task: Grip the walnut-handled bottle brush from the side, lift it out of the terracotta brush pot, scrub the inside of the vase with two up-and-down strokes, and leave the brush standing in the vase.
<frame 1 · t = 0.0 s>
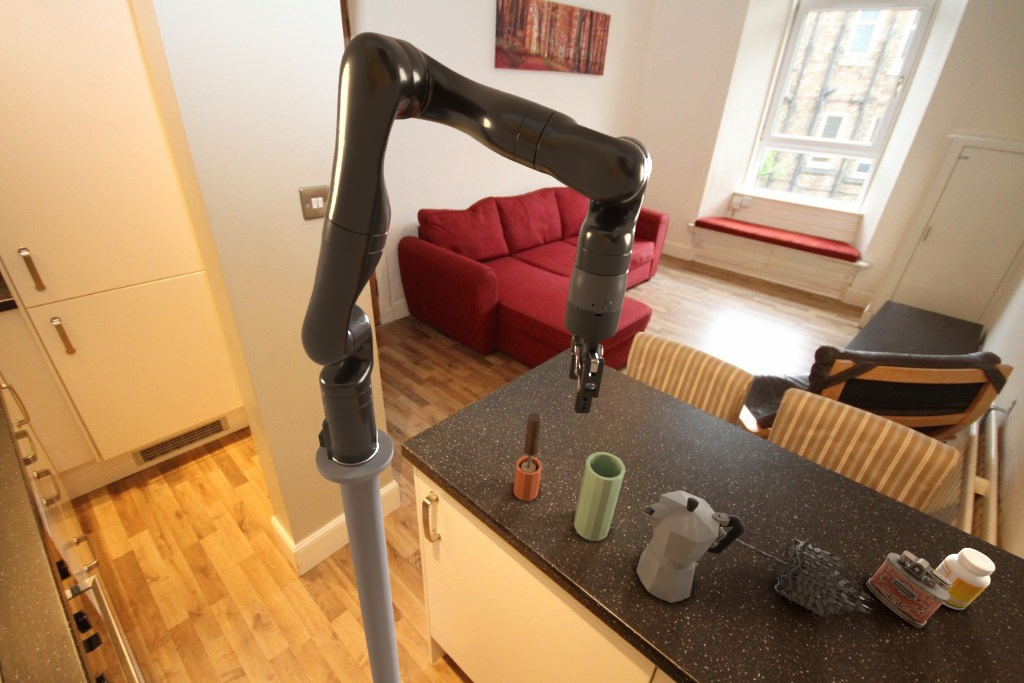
hand: (578, 394, 68), 28 cm above the breakfast bar, tool pointing down, fingers open, 8 cm apart
brush pot: (525, 491, 87), on the breakfast bar
massage brush: (777, 584, 74), on the breakfast bar
supplement bottle: (943, 595, 74), on the breakfast bar
coffeepot: (670, 577, 74), on the breakfast bar
bottle brush: (525, 489, 87), resting on brush pot
lighter: (893, 603, 72), on the breakfast bar
vase: (591, 525, 81), on the breakfast bar
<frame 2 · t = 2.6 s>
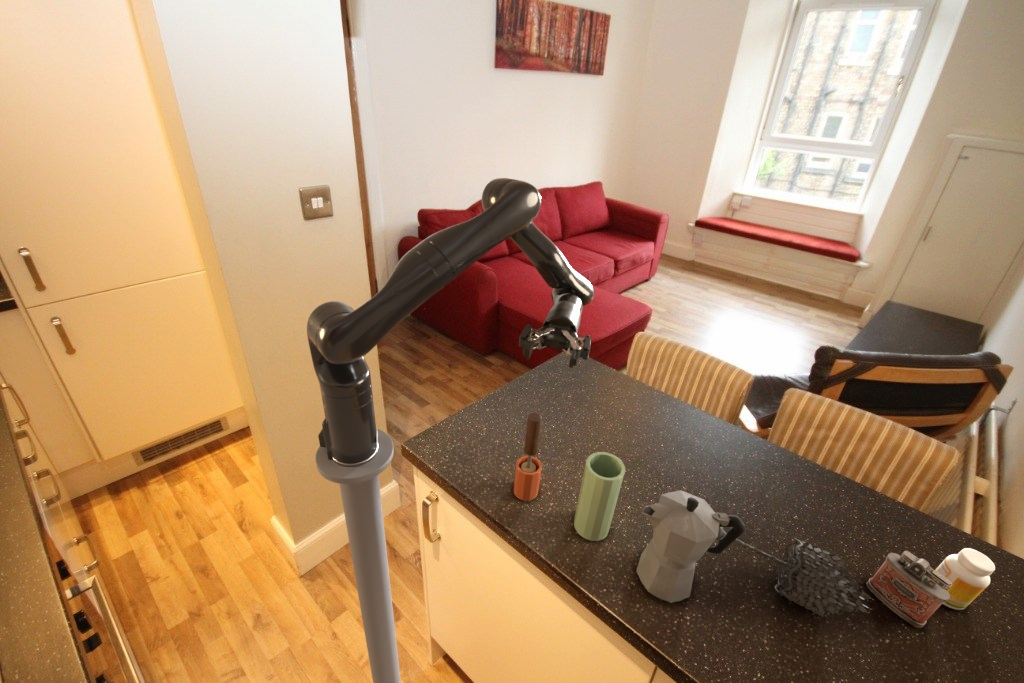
hand: (549, 359, 85), 24 cm above the breakfast bar, tool horizontal, fingers open, 8 cm apart
nothing on the breakfast bar moved.
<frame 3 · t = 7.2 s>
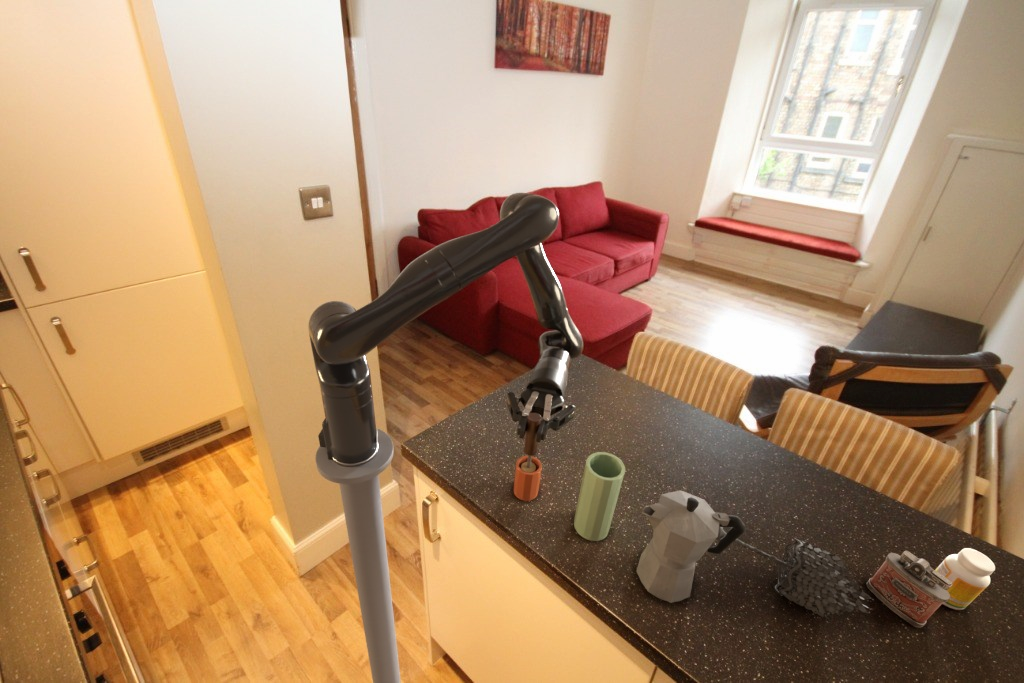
hand: (530, 436, 77), 16 cm above the breakfast bar, tool horizontal, fingers closed on bottle brush, 2 cm apart
bottle brush: (525, 489, 87), point 1 cm above the breakfast bar, touching brush pot, gripper
everything else where it was.
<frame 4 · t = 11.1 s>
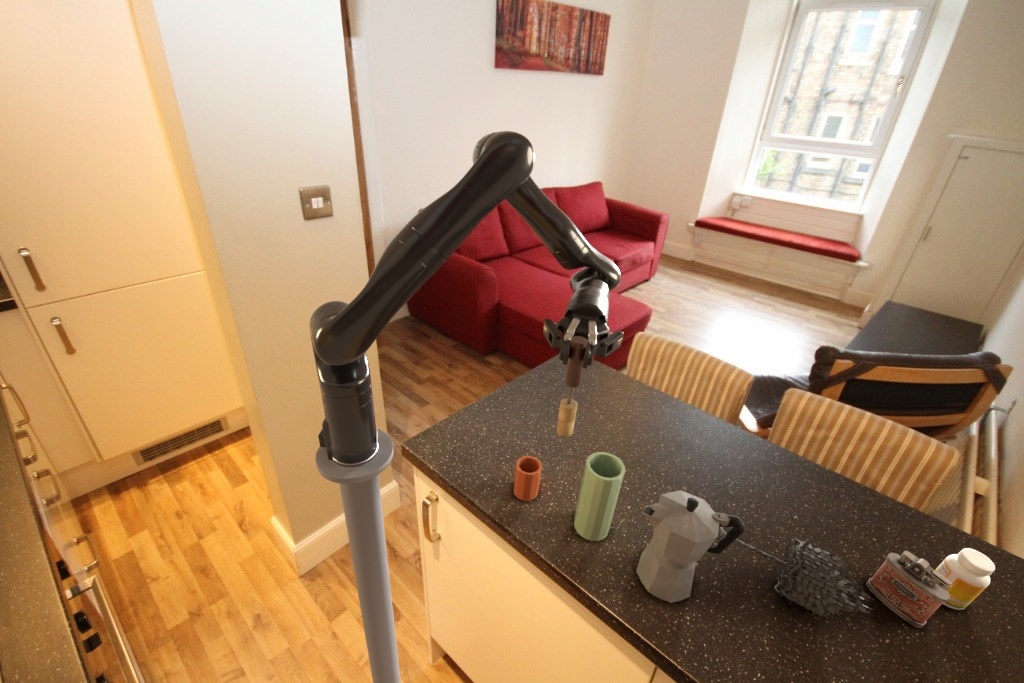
hand: (575, 360, 66), 34 cm above the breakfast bar, tool horizontal, fingers closed on bottle brush, 2 cm apart
bottle brush: (564, 431, 76), point 18 cm above the breakfast bar, touching gripper
everything else where it was.
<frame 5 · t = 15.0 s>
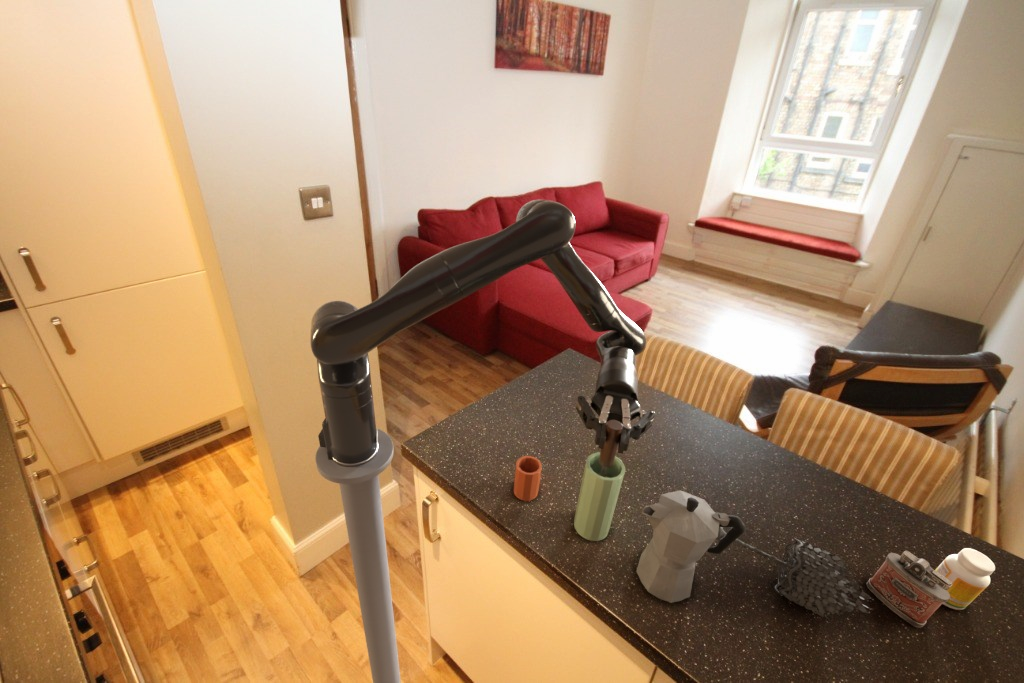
hand: (611, 446, 68), 22 cm above the breakfast bar, tool horizontal, fingers closed on bottle brush, 2 cm apart
bottle brush: (595, 503, 78), point 6 cm above the breakfast bar, touching gripper
everything else where it was.
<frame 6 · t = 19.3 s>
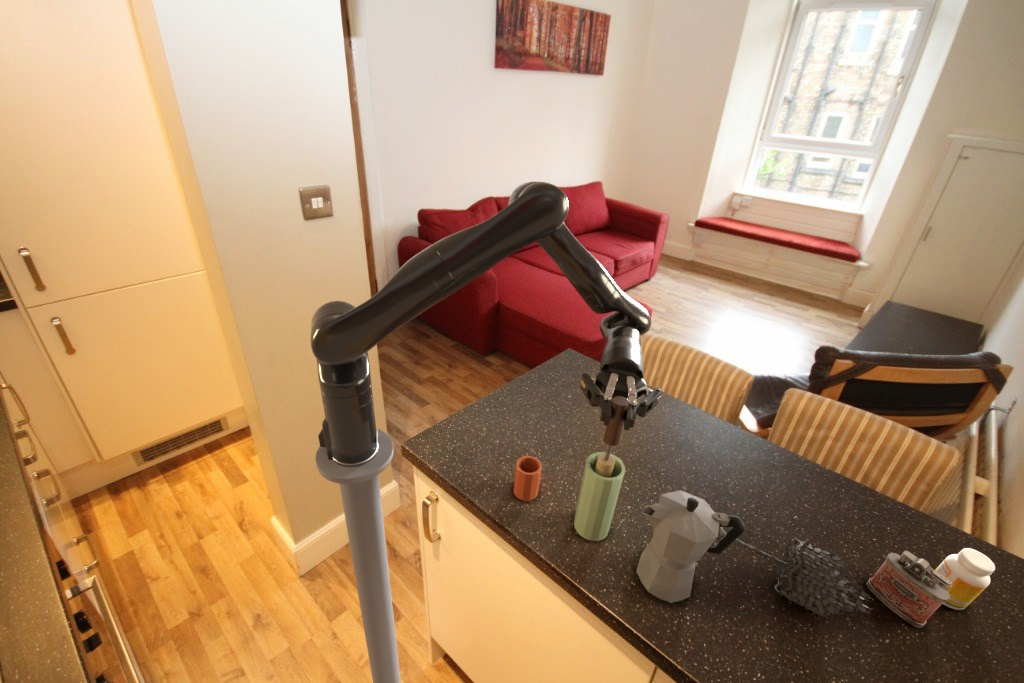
hand: (617, 423, 66), 26 cm above the breakfast bar, tool horizontal, fingers closed on bottle brush, 2 cm apart
bottle brush: (600, 485, 76), point 10 cm above the breakfast bar, touching gripper
everything else where it was.
when the fingers open (17 cm above the breakfast bar, at t = 23.0 s): bottle brush stays where it is, resting on vase.
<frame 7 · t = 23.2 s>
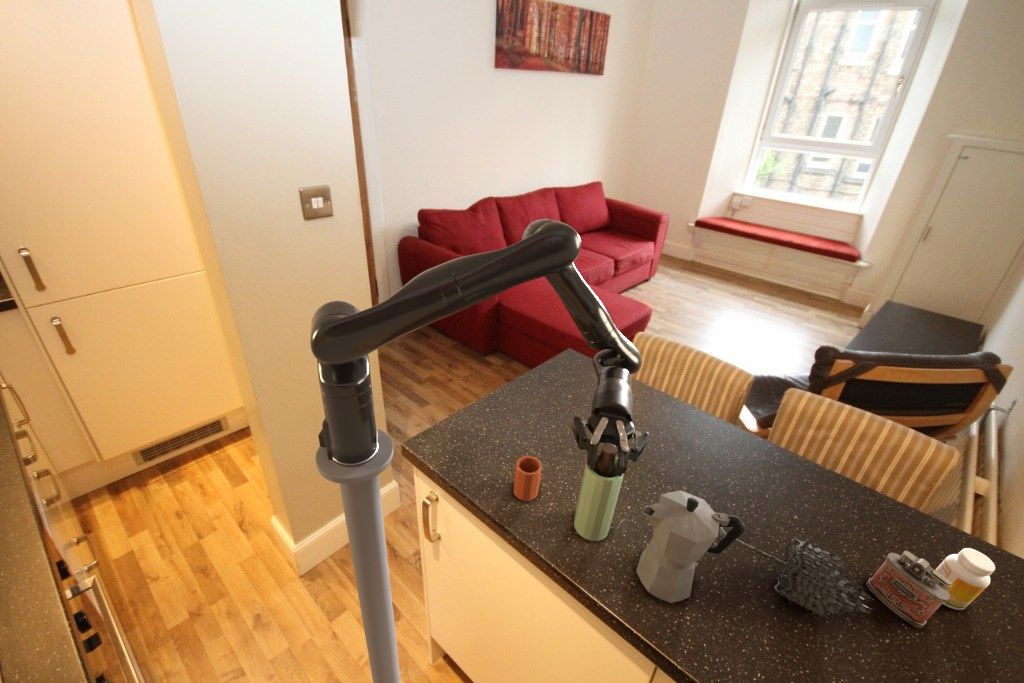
hand: (606, 468, 71), 17 cm above the breakfast bar, tool horizontal, fingers open, 3 cm apart
bottle brush: (591, 522, 81), point 1 cm above the breakfast bar, touching vase
everything else where it was.
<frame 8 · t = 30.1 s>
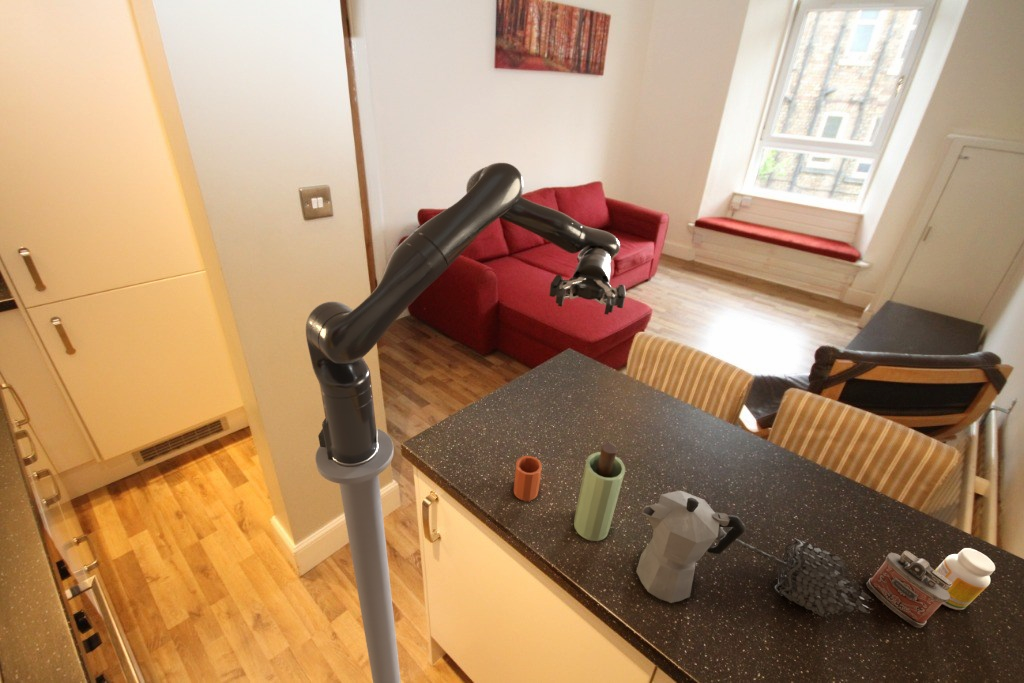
hand: (583, 305, 81), 35 cm above the breakfast bar, tool horizontal, fingers open, 8 cm apart
nothing on the breakfast bar moved.
at the end: bottle brush 0.1 cm off-centre in the vase, point 0.8 cm above the vase's base; bottle brush tilted 0°; the gripper is holding nothing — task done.
